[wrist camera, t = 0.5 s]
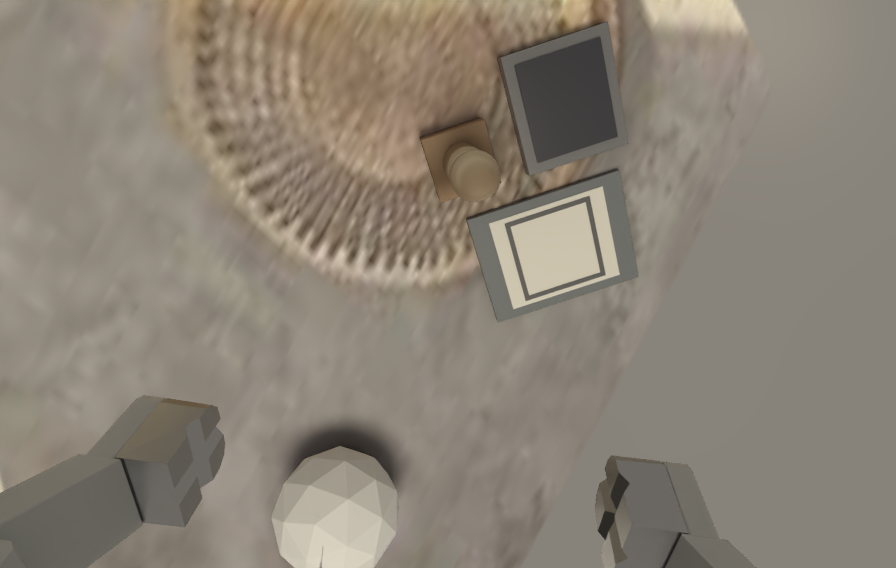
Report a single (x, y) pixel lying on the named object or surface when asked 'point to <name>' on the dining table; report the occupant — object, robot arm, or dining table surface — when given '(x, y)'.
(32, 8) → the dining table surface
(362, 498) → the geodesic sphere
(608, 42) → the ink pad
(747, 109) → the dining table surface
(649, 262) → the dining table surface
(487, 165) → the hand stamp
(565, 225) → the document board
